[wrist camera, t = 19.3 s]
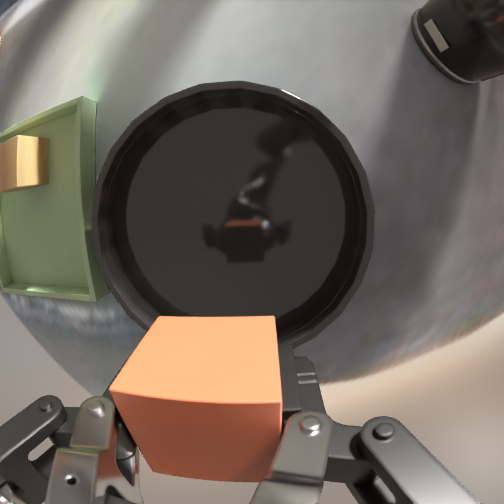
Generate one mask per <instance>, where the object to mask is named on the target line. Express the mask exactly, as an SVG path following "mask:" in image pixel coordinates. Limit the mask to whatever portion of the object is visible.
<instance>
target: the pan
mask: <svg viewBox="0 0 504 504" xmlns="http://www.w3.org/2000/svg"><path fill="white" fill-rule="evenodd" d="M374 214H375V211H374V205H373V201H372V196H371V192H370V187H369V183H368V179H367V175H366V173H365V170H364V168H363V166H362V164H361V162H360V160H359V159H358V157H357V155H356V153H355V151H354V150H353V148H352V146H351V144H350V143H349V141H348V139H347V138H346V136H345V135H344V134H343V133H342V132H341V131H340V130H339V129H338V128H337V127H336V126H335V125H334V124H333V123H332V122H331V121H330V120H329V119H328V118H327V117H326V116H325V115H324V114H323V113H322V112H321V111H320V110H319V109H317V108H316V107H314V106H312V105H310V104H308V103H307V102H305V101H303V100H301V99H299V98H297V97H296V96H294V95H292V94H290V93H288V92H286V91H284V90H282V89H279V88H275V87H270V86H266V85H261V84H256V83H251V82H246V81H227V82H215V83H204V84H199V85H196V86H193V87H190V88H187V89H185V90H182V91H180V92H177V93H174V94H172V95H169V96H167V97H164V98H163V99H161V100H160V101H159V102H157V103H156V104H154V105H153V106H152V107H150V108H149V109H148V110H146V111H145V112H144V113H142V114H141V115H140V116H138V117H137V118H136V119H135V120H133V121H132V122H131V124H130V125H129V126H128V127H127V129H126V130H125V131H124V132H123V134H122V135H121V136H120V138H119V139H118V140H117V142H116V143H115V144H114V146H113V147H112V148H111V150H110V152H109V154H108V156H107V158H106V161H105V163H104V166H103V168H102V170H101V173H100V175H99V178H98V180H97V183H96V187H95V194H94V201H93V209H92V218H91V222H92V231H93V240H94V247H95V254H96V257H97V260H98V263H99V265H100V268H101V271H102V273H103V276H104V278H105V281H106V283H107V286H108V287H109V289H110V290H111V292H112V293H113V295H114V296H115V298H116V299H117V300H118V302H119V303H120V305H121V306H122V307H123V309H124V310H125V312H126V313H127V314H128V315H129V316H130V317H131V318H132V319H133V320H134V321H135V322H136V323H138V324H139V325H140V326H141V327H142V328H143V329H144V330H146V331H147V332H148V331H149V329H150V328H151V326H152V325H153V324H154V322H155V321H156V319H157V318H158V317H159V316H173V317H248V316H274V317H275V324H276V334H277V345H278V346H281V345H292V346H293V349H294V348H296V347H298V346H299V345H301V344H303V343H305V342H307V341H309V340H311V339H313V338H314V337H316V336H317V335H318V334H319V333H320V332H322V331H323V330H324V329H325V328H326V327H327V326H328V325H330V324H331V323H332V322H333V321H334V320H335V319H336V318H337V317H338V316H339V315H340V314H341V313H342V312H343V310H344V309H345V307H346V306H347V305H348V303H349V302H350V300H351V299H352V297H353V296H354V294H355V293H356V291H357V289H358V288H359V286H360V285H361V283H362V280H363V277H364V274H365V271H366V268H367V265H368V262H369V259H370V256H371V253H372V250H373V249H372V248H373V236H374Z"/></svg>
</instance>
